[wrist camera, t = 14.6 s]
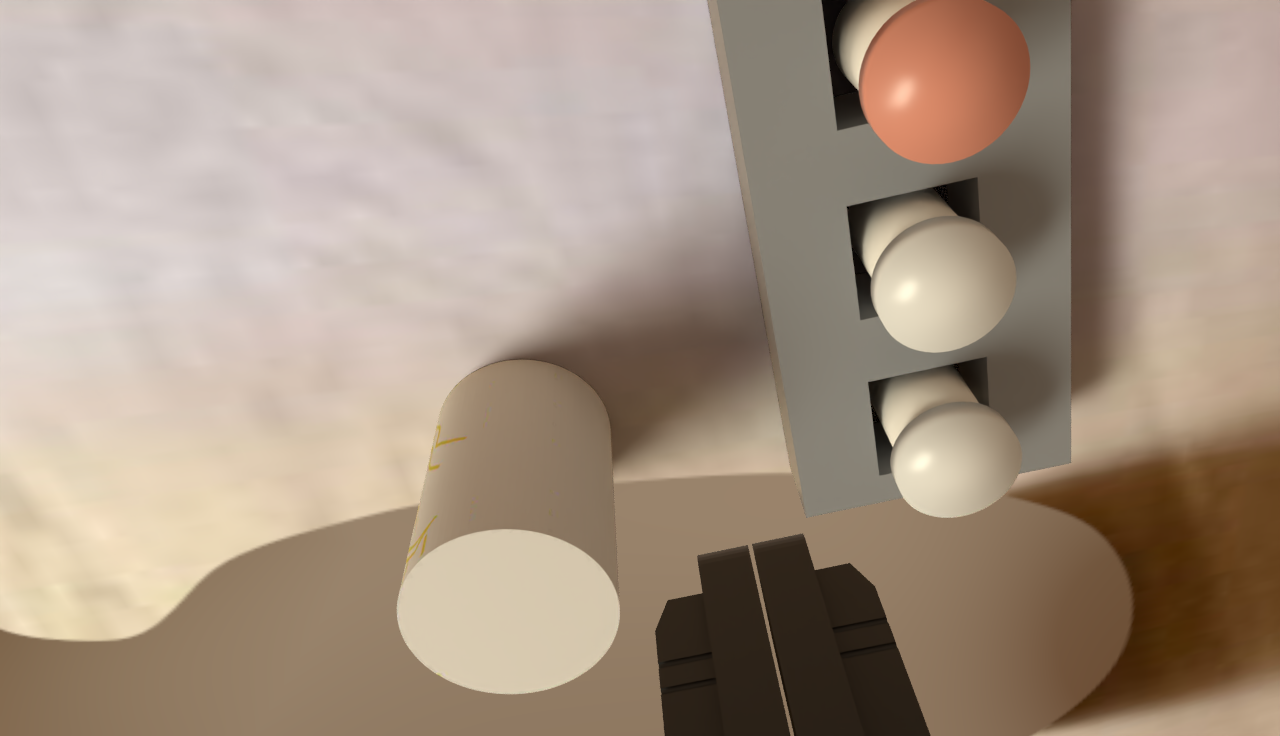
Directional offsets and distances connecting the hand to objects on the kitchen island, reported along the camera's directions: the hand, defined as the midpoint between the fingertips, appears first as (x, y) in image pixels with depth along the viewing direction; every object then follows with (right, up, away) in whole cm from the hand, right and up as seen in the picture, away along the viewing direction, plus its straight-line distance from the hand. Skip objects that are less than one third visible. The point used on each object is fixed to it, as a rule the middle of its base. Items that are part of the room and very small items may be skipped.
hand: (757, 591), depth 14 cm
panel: (+9, +10, +29) cm, 31 cm away
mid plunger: (+9, +9, +28) cm, 31 cm away
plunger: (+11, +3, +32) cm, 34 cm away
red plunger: (+7, +15, +23) cm, 28 cm away
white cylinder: (-7, 0, +33) cm, 34 cm away
